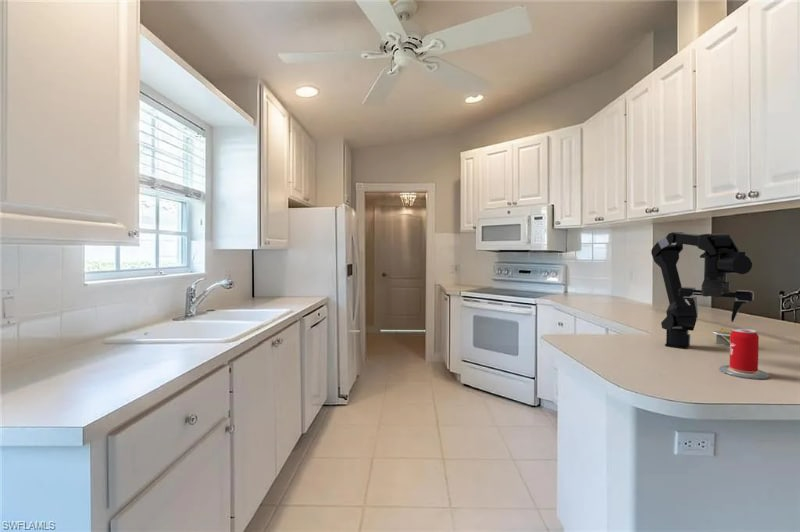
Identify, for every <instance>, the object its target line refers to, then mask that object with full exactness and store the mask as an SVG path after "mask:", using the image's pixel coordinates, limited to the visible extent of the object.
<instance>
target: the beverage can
mask: <svg viewBox="0 0 800 532" xmlns="http://www.w3.org/2000/svg"><path fill="white" fill-rule="evenodd" d="M732 330H733V331H732ZM732 330H731V334H730V346H729V365H730V367H731V368H732V369H733V370H735V371H738V372H743V373H754V372H756V371H758V370H759V344H760V343H759V342H760V341H759V339H760V338H759V334H758V333H757V330H755V329H751V328H741V327H740V328H739V327H736V328H732Z"/></svg>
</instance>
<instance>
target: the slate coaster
mask: <svg viewBox="0 0 800 532" xmlns="http://www.w3.org/2000/svg"><path fill="white" fill-rule="evenodd" d="M718 370H719V371H720V372H721V373H723V372H724V373H723V374H725V373H727V374H726V375H728V374H730V375H729V376H732V375H734V376H733V377H736V376H738V377H737V378H741V377H743V378H742V379H747V378H751V379H750V380H760V379H761V380H768V379H770V374H769V373H768V372H766V371H763V370H761V369H758V371H756V372H754V373H743V372H738V371H735V370H733V369H732V368H731V367H730V364H728V365H726V364H725V365H721V366H719V368H718Z"/></svg>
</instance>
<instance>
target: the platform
mask: <svg viewBox="0 0 800 532" xmlns="http://www.w3.org/2000/svg"><path fill="white" fill-rule="evenodd" d="M732 331H733V328H724V327H722V328H720V331H718V330H712V333H713V334H714V335H716V340H715V341H716V343H718V344H717V345H722V344H724V345H723V346H729V345H730V334H731V332H732ZM716 343H715V344H716Z"/></svg>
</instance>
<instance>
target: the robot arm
mask: <svg viewBox="0 0 800 532" xmlns="http://www.w3.org/2000/svg"><path fill="white" fill-rule="evenodd" d="M684 245H685V246H686V245H687V246H693V247H697V248H698V249H699V250H701V251H704V252H703V253H702V254H700V255H699V258H700V259H701V258H702V259H704V260H703V261H704V265H703V266H704V269H703V281H702V284H701V289H696V287H694V286H693V287H690V286H682V282H681V278H680V276H679V275H680V274H679V270H678V267H677V264H678V262H679V259H680V254H681V252H682V251H683V249H684ZM650 252H651V256H652V259H653V261H654V263H655V264H656V265H657V266H659V268H660V270H661V275H662V279H663V283H664V287H665V290H666V294H667V299H668V307H667V308H666V317H665V318H664V319H663V320H662V321H661V322H660V323H661V328H662V329H663V330H666V331H665V332H666V335H665V338H666V339H665V342H666V343H665V344H664V346H666V347H672V348H679V349H688V347H689V346H690V345H691V334H690V333H689V331H691V332H692V331H693V332H694V329H695V325H696V323H697V319H698V315H699V313H698V312H699V309H698V297H697V296H702V297H713V298H734V299H735V300H734V301H733V306H732V307H733V308H732V313H731V319H730V320H731V321H730V322H731V323H733V322H734V321H735V319H736V317H737V315H738V313H739V310H740V309H741V307H742V306H743V304H747V303H748V302H753V301H754V300H755V292H754V291H753V290H748V289H747V290H746V289H736V291H731V281H727V278H728V277H727V275H728V274H731V275H732V274H733V275H745V274H748V273H749V272H750V271H751V270H752V267H753V262H752V260H751V258H749V256H747V255H746V251H740V250H739V248H738V247H737V246H736V244H735V242H734V240H733V238H731V235H730V234H729V233H704V234H697V233H695V234H694V233H686V232H683V231H678V232H677V231H672V232H669V233H668V234H667V235H666V237H663V238H662V239H660V240H659V241H657V242H656V243H655V244H654V245H653V247H652V248H651V250H650Z"/></svg>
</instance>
